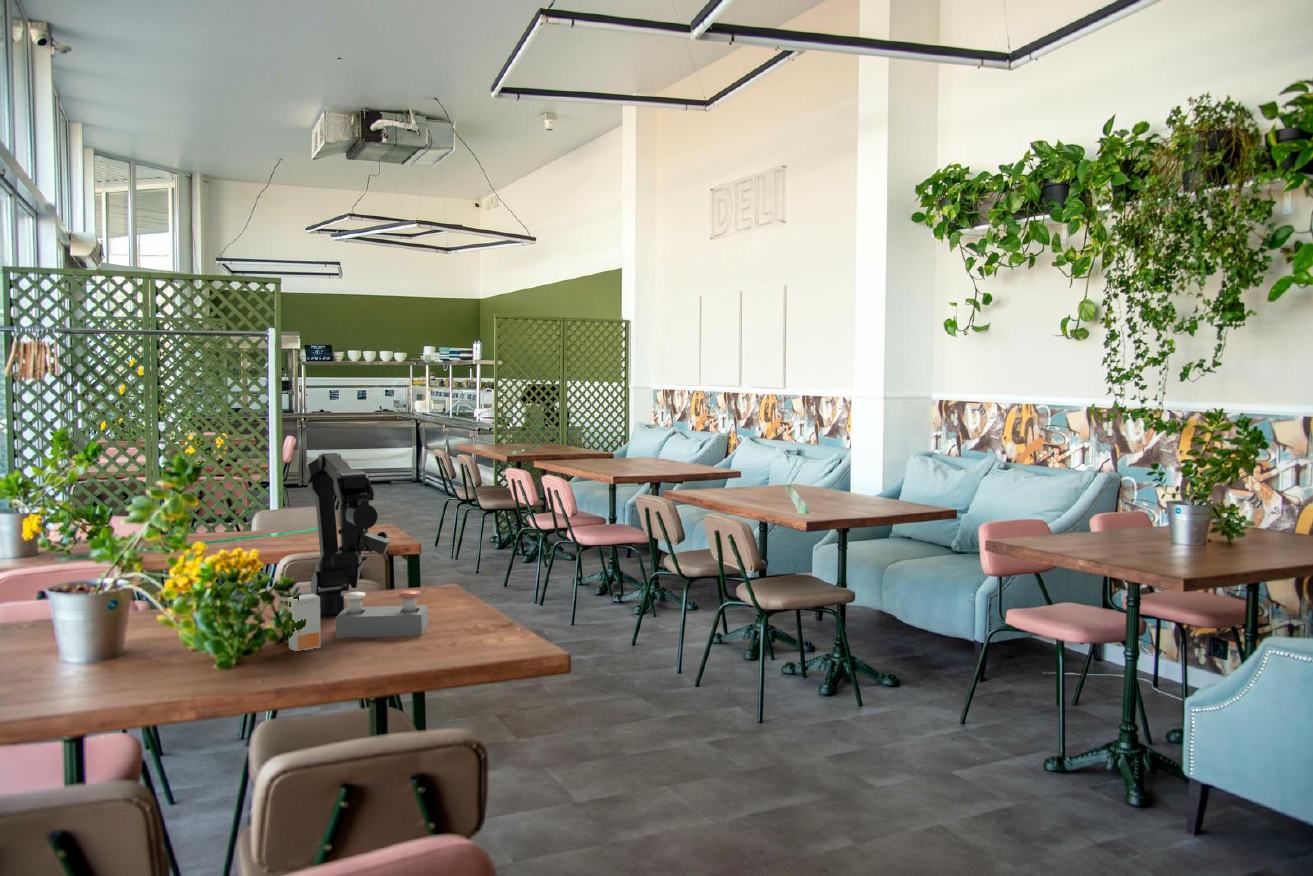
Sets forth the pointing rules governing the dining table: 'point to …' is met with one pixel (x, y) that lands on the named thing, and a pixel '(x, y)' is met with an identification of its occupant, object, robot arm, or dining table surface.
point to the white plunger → (354, 602)
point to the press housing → (382, 622)
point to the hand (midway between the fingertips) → (354, 587)
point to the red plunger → (409, 600)
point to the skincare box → (311, 612)
